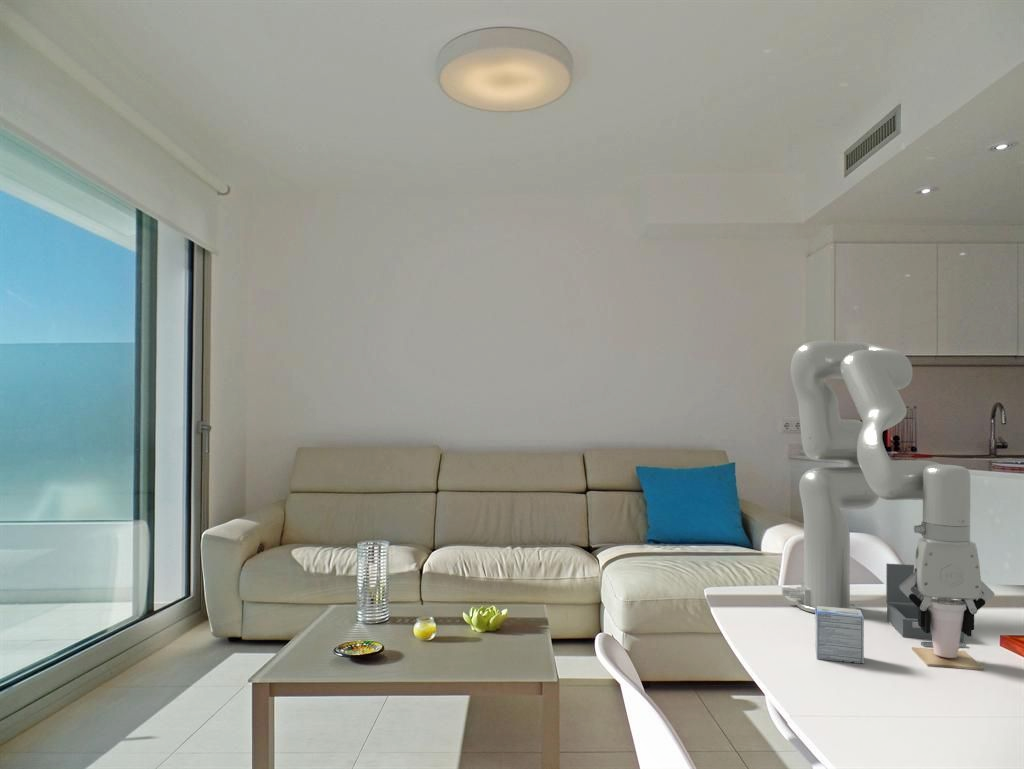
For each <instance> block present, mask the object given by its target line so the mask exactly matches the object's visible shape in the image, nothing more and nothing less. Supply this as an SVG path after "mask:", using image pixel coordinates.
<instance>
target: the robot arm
mask: <svg viewBox="0 0 1024 769" xmlns="http://www.w3.org/2000/svg"><path fill="white" fill-rule="evenodd" d="M912 365H913V364H912V363H911V361H910V359H909V358H908V357H907V356H906V355H905V354H903V353H902V352H901V351H898V350H895V349H891V348H888V347H884V346H879V345H876V344H874V343H869V342H865V341H863V342H862V341H844V340H841V341H839V340H814V341H809V342H806V343H803V344H801V345H800V346H799V347H798V348H797V349H796V350H795V352H794V353H793V356H792V359H791V363H790V378H791V382H792V386H793V389H794V392H795V395H796V399H797V403H798V413H799V414H798V416H799V425H800V434H801V442H802V443H801V444H802V450H803V452H804V454H805V456H806V457H807V458H808V459H810V460H812V461H816V462H817V461H820V462H822V461H823V462H843V464H844V466H822V467H813V468H811V469H808V470H807V471H806V472H805V473H803V474H802V476H801V477H800V480H799V484H798V485H799V486H798V489H799V496H800V501H801V506H802V511H803V512H802V513H803V514H802V515H803V583H800V586H796V587H795V588H794V587H793V588H791V587H783V586H782V587H781V595H782V597H789V598H790V599H796V606H797V607H798V608H799V609H801V610H803V611H806V612H809V613H811V614H812V613H813V614H815V607H816V606H823V607H835V608H847V609H857V610H858V606H857V604H855V603H854V602H851V601H850V599H851V598H850V596H851V592H850V591H851V590H850V589H851V588H850V587H851V583H850V582H851V581H850V580H851V577H850V576H851V573H850V572H851V558H850V557H851V553H850V552H851V538H850V537H851V533H850V528H849V525H848V523H847V521H846V519H845V518H844V516H843V513H842V510H860V509H861V510H862V509H869V508H872V507H873V506H874V505H875V504H876V503H877V502H878V500H879V498H880V499H882V500H886V501H908V500H909V501H910V500H912V501H913V500H914V501H918V500H919V501H922V521H921V524H919V525H914V527H913V532H914V534H920V535H921V536H922V537H919V538H918V542H917V545H916V550H915V555H914V562H913V563H914V564H913V565H914V573H913V574H912V575H911V576H910V577H909V578H907V579H906V580H905V581H904V582H903V583H902V584H900V585H899V589H900V590H901V591H902V592H903V593H904V594H905V595H906V596H907V597H908V598H909V599H910V600H911V601H912V602H913V603H914V604H915V605H916V606H917V607H918V625H919V627H921V629H922V630H923V631H924V632H925V633H930V612H929V611H928V606H929V603H930V601H931V599H932V597H934V598H948V599H958V600H961V601H964V602H965V603H966V608H967V609H966V610H964V616H963V622H962V629H961V631H962V632H963V633H964V636H967V637H972V636H973V635H972V634H973V633H972V632H973V631H975V615H976V614H978V611H979V610H981V609H982V607H984V606H985V605H986V603H987V602H988V601H990V600H991V599H993V598H994V597H995V592H994V591H993V590H992V589H991V588H990V587H989V586H988V585H987V584H986V583H985V582H983V580H982V575H981V569H980V559H979V553H978V549H977V545H976V543H975V542H973V541H971V473H970V471H969V469H968V468H966V467H964V466H962V465H961V466H960V465H955V464H954V465H953V464H941V463H939V462H936V461H933V460H922V459H921V460H920V459H919V460H918V459H917V460H915V459H913V460H911V459H906V460H905V459H903V460H901V459H900V460H899V459H898V460H897V459H896V460H895V459H893V460H891V458H890V456H889V454H888V452H887V450H886V448H885V444H884V441H883V432H884V431H886V430H889V429H890V428H893V427H894V426H896V425H897V424H899V423H900V422H901V421H902V420H904V419H905V417H906V415H907V412H908V411H907V409H908V408H907V407H906V404H905V403H904V400H903V399H902V397H901V394H900V393H899V390H903V389H904V388H906V387H908V386H909V385H910V383H911V382H912V379H913V375H914V374H913V366H912ZM827 379H837V380H838V379H840V380H843V382H844V384H845V386H846V388H847V390H848V391H847V392H849V395H850V398H851V399H852V401H853V403H854V406H855V409H856V411H857V413H858V415H859V417H860V419H861V420H858V419H853V418H852V419H850V418H849V419H846V418H845V419H843V418H841V414H840V410H839V400H838V397H837V395H836V393H835V392H834V390H833V389H832V387H831V386H830V385H829V384H828V383H827V381H826V380H827ZM913 586H914V588H915V589H917V590H919V592H920V594H919V596H918V597H917V596H916V595H915V594H914V593H913V592H912V591H911V587H913Z"/></svg>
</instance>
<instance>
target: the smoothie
mask: <svg viewBox="0 0 1024 769" xmlns="http://www.w3.org/2000/svg"><path fill="white" fill-rule="evenodd" d="M928 608H929V612H930V625H931V633H932V639H931V640H932V641H931V642H933V647H932V649H934V653H935V654H936V655H939V656H942V657H947V658H955V657H957V655H958V651H959V648H960V647H959V643H961V641H960V635H961V629H962V622H963V616H964V610H966V609H967V608H966V603H965V602H964V601H961V599H948V598H934V597H932V599H931V601H930V603H929V606H928Z"/></svg>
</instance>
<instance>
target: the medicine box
mask: <svg viewBox="0 0 1024 769" xmlns="http://www.w3.org/2000/svg"><path fill="white" fill-rule="evenodd" d="M814 614H815V615H814V616H815V617H814V618H815V620H814V624H815V626H814V627H815V628H814V630H815V634H814V635H815V640H814V641H815V643H814V644H815V655H816V656H815V658H816V659H817V660H823V661H824V660H825V661H835V662H842V661H844V663H851V662H854V663H853V664H860V663H863V664H865V655H864V654H865V651H864V649H865V648H864V647H865V644H864V643H865V641H864V639H865V638H864V637H865V633H864V632H865V628H864V627H865V626H864V625H865V624H864V623H865V618H864V615H863V613H862V610H860V609H858V608H857V609H847V608H835V607H823V606H816V607H815V613H814ZM863 664H862V665H863Z"/></svg>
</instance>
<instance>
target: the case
mask: <svg viewBox="0 0 1024 769" xmlns="http://www.w3.org/2000/svg"><path fill="white" fill-rule="evenodd" d="M885 568H886V569H885V571H886V577H885V578H886V599H885V600H886V608H887V609H886V610H887V611H886V620H888V621H889V622H890V623H891V624H892V625H891V624H890V623H889V622H888V621H887V622H888V623H889V624H890V625H891V626H892V627H893V628H894V629H895V630H896V631H897V632H898V633H899V634H900V635H901V637H903V638H915V639H927V640H928V639H929V640H932V633H931V625H930V633H925V632H924V631H923V630H922V629H921V627H919V625H918V607H917V606H916V605H915V604H914V603H913V602H912V601H911V600H910V599H909V598H908V597H907V596H906V595H905V594H904V593H903V592H902V591H901V590H900V589H899V585H900V584H902V583H903V582H904V581H905V580H906V579H907V578H909V577H910V576H911V575H912V574H913V573H914V564H903V563H902V564H901V563H886V566H885ZM911 591H912V592H913V593H914V594H915V595H916V596H917V597H918V596H919V594H920V592H919V590H917V589H915V588H914V586H913V587H911ZM928 611H929V608H928ZM960 642H965V634H964V633H963V632H962V631H961V635H960Z"/></svg>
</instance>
